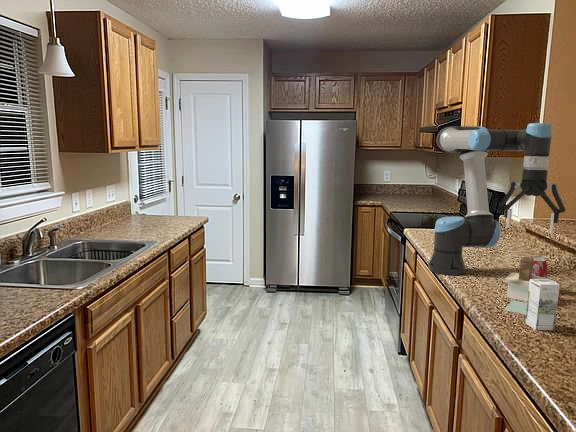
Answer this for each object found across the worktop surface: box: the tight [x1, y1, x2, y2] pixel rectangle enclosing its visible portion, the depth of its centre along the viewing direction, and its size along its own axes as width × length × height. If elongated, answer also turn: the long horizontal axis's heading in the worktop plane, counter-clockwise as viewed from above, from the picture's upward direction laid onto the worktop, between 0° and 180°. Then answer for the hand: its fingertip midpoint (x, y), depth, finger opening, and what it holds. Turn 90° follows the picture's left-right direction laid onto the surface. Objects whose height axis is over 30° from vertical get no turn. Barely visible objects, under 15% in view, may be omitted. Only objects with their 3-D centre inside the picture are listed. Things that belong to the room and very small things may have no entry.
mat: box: [503, 299, 527, 316], centre depth 148 cm, size 12×12×1 cm
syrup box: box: [524, 278, 561, 331], centre depth 132 cm, size 6×6×14 cm
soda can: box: [531, 256, 548, 279], centre depth 169 cm, size 7×7×12 cm
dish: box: [506, 282, 529, 302], centre depth 160 cm, size 9×9×6 cm
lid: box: [504, 256, 545, 286], centre depth 159 cm, size 11×11×8 cm
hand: (529, 229), depth 157 cm, fingers open, 13 cm apart
